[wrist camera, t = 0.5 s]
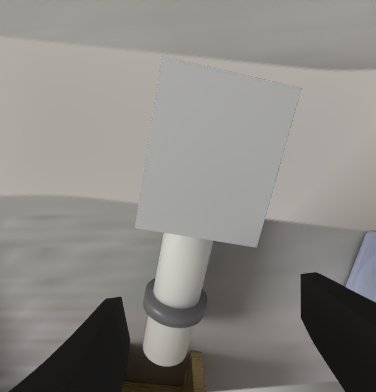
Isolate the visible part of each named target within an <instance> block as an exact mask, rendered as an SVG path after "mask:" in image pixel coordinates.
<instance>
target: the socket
mask: <svg viewBox="0 0 376 392" xmlns="http://www.w3.org/2000/svg"><path fill="white" fill-rule="evenodd" d="M121 392H206V387H205V379H204V371H203V363H202V355H201V352H195V351H191V353H190V357H189V362H188V366H187V370H186V374H185V378H184V382H183V386H182V387H178V386H168V385H158V384H149V383H139V382H129V381H123V385H122V389H121Z"/></svg>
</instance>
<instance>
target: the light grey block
mask: <svg viewBox="0 0 376 392" xmlns="http://www.w3.org/2000/svg"><path fill="white" fill-rule="evenodd" d="M301 89H302V88H300V87H295V86H291V85H286V84H282V83H278V82H274V81H269V80H265V79H261V78H256V77H252V76H247V75H243V74H238V73H234V72H230V71H225V70H221V69H216V68H212V67H208V66H204V65H199V64H195V63H190V62H186V61H182V60H178V59H173V58H169V57H164V56H162V59H161V65H160V71H159V78H158V84H157V90H156V97H155V103H154V109H153V116H152V122H151V128H150V135H149V141H148V147H147V154H146V160H145V166H144V173H143V180H142V185H141V192H140V198H139V204H138V211H137V217H136V224H135V228H138V229H144V230H150V231H156V232H163V233H169V234H175V235H181V236H187V237H193V238H200V239H206V240H212V241H218V242H224V243H231V244H237V245H243V246H249V247H255V248H257V245H258V241H259V238H260V234H261V230H262V227H263V223H264V220H265V216H266V212H267V209H268V206H269V202H270V198H271V195H272V191H273V188H274V184H275V181H276V177H277V174H278V170H279V167H280V163H281V159H282V156H283V152H284V149H285V145H286V142H287V138H288V135H289V131H290V128H291V124H292V121H293V117H294V113H295V110H296V106H297V103H298V99H299V96H300V92H301Z"/></svg>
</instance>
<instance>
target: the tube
mask: <svg viewBox="0 0 376 392" xmlns="http://www.w3.org/2000/svg"><path fill="white" fill-rule="evenodd" d="M212 245H213V241H212V240H206V239H200V238H193V237H187V236H181V235H175V234H169V233H164V235H163V240H162V246H161V251H160V256H159V262H158V267H157V272H156V278H155V279H153V280H151V281H150V282H149V283H148V284H147V286H146V291H145V296H144V303H143V304H144V309H145V311H146V313H147V314H148V321H147V326H146V331H145V337H144V342H143V350H144V353H145V355H146V356H147V358H148V359H149V360H150V361H152V362H153V363H155V364H157V365H160V366H174V365H177V364H179V363H181V362H182V361H183V360H184V359H185V357H186V354H187V350H188V346H189V342H190V338H191V333H192V329H193V326H194V325H195V324H197V323H198V322H200V321H201V319H202V318H203V315H204V311H205V307H206V303H207V296H206V293H205V292H204V290H203V289H202V287H203V283H204V279H205V274H206V270H207V266H208V262H209V258H210V253H211V249H212Z"/></svg>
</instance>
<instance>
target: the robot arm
mask: <svg viewBox="0 0 376 392" xmlns="http://www.w3.org/2000/svg"><path fill="white" fill-rule="evenodd" d="M301 319H302V321H303V323H304V325H305V327H306V329H307V331H308V333H309V335H310V337H311V339H312V341H313V343H314V344H315V346H316V348H317V349H318V351H319V352H320V354H321V355H322V357H323V358H324V360H325V362H326V363H327V365H328V366H329V368H330V369H331V371H332V372H333V374H334V375H335V377H336V378H337V380H338V381H339V383H340V384H341V386H342V387H343V389H344V390H345V392H376V231H374V230H372V231H369V232H367V233H366V235H365V237H364V240H363V242H362V245H361V248H360V250H359V253H358V255H357V258H356V261H355V263H354V266H353V268H352V271H351V274H350V276H349V279H348V281H347V284H346V287H344V286H343V285H341V284H339V283H337V282H335V281H333V280H331V279H329V278H327V277H325V276H323V275H321V274H319V273H316V272H314V273H307V274H301ZM129 345H130V337H129V332H128V327H127V322H126V317H125V312H124V307H123V302H122V298H121V297H116V298H108V299H105V300H104V301H103V302H102V303H101V304H100V306H99V307H98V308H97V309H96V310H95V311H94V312H93V313H92V314H91V315H90V316H89V318H88V319H87V320H86V321H85V322H84V323H83V324H82V325H81V326H80V327H79V328H78V329H77V330H76V331H75V332H74V333H73V335H72V336H71V337H70V338H69V339H68V340H66V341H65V342H64V343H63V344H62V345H61V346H60V347H59V348H58V349H57V350H56V351H55V352H54V353H53V354H52V355H51V356H50V357H49V358H48V359H47V360H46V361H45V362H44V363H43V364H41V365H40V366H39V367H38V368H37V369H36V370H35V371H33V372H32V373H31V374H30V375H29V376H27V377H26V378H25V379H24V380H23V381H22V382H20V383H19V384H18V385H17V386H15V387H14V388H13V389H12V390H10V391H9V392H121V389H122V385H123V381H124V377H125V372H126V368H127V361H128V354H129Z"/></svg>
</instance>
